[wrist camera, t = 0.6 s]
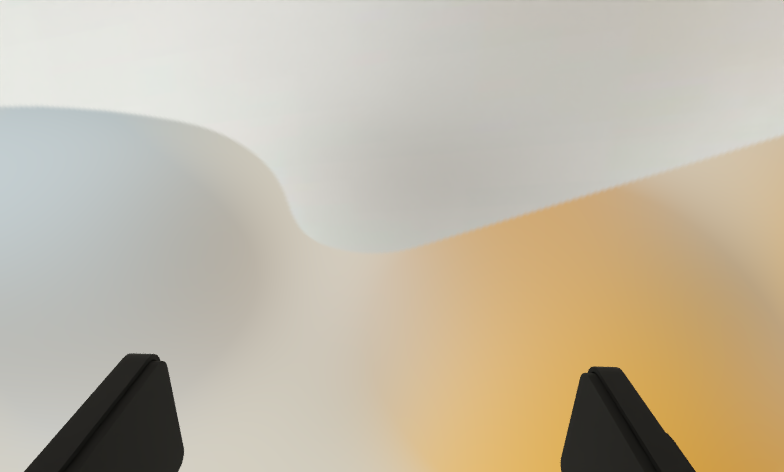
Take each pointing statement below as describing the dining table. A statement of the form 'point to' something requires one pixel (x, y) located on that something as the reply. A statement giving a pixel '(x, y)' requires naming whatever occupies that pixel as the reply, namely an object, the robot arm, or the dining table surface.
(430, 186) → the dining table surface
